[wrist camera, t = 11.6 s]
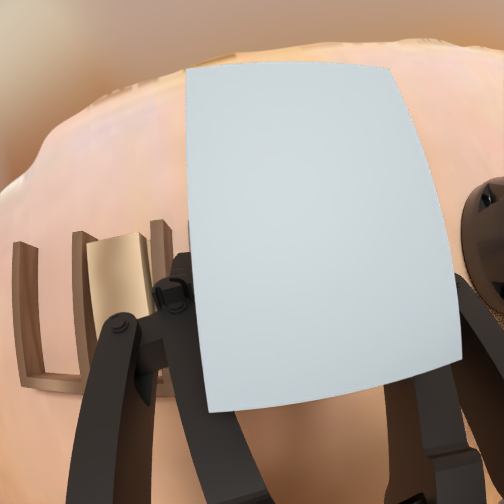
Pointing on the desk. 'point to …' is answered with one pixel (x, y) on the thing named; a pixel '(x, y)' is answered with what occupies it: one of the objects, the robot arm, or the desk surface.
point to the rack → (82, 307)
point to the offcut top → (119, 278)
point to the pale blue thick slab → (312, 234)
